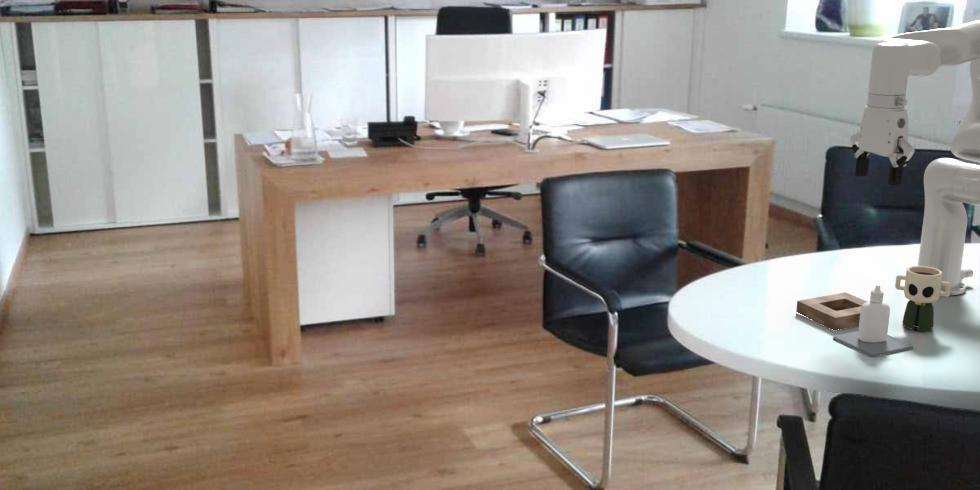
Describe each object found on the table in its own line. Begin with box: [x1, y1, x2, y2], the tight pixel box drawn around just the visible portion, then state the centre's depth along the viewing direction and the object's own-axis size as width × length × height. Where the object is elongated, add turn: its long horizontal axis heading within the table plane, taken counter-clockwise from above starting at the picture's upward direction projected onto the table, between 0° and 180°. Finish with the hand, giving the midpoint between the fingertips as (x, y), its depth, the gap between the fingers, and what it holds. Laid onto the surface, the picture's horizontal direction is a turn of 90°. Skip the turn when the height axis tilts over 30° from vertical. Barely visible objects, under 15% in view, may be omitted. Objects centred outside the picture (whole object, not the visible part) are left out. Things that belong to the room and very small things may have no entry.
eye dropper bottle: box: [857, 284, 891, 343], centre depth 208 cm, size 4×6×12 cm
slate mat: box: [832, 331, 914, 358], centre depth 210 cm, size 11×11×1 cm
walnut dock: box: [796, 292, 869, 331], centre depth 224 cm, size 14×12×3 cm
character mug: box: [894, 265, 951, 331], centre depth 217 cm, size 11×7×13 cm, turn 60°
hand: (877, 180), depth 220 cm, fingers open, 9 cm apart
